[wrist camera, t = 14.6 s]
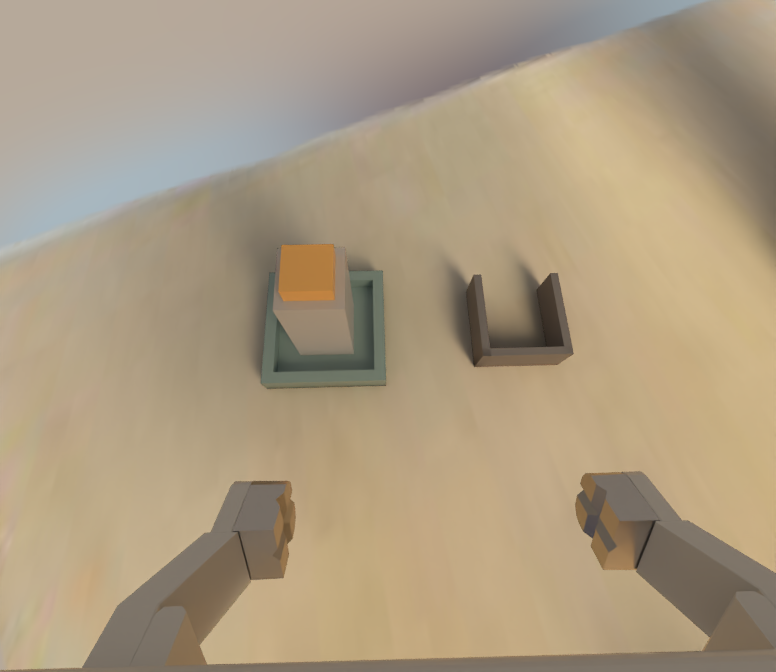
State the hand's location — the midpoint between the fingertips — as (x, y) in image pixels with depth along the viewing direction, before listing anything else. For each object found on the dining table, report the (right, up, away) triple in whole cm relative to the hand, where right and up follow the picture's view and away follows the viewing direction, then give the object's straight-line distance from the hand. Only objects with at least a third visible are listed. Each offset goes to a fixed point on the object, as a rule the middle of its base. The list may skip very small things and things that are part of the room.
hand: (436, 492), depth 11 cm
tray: (-7, +5, +28) cm, 29 cm away
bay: (+11, +5, +28) cm, 31 cm away
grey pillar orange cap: (-7, +5, +27) cm, 29 cm away
